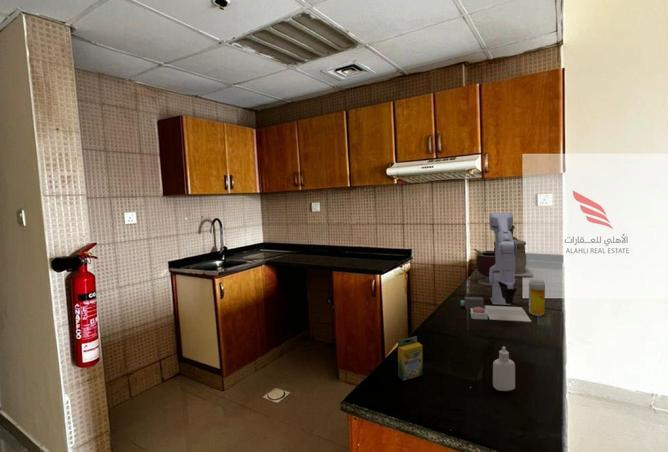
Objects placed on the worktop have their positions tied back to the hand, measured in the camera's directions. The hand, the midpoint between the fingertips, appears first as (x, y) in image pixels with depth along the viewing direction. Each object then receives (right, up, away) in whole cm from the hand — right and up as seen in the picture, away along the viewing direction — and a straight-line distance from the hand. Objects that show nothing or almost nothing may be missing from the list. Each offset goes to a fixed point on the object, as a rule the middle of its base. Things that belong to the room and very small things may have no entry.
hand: (507, 300), depth 149 cm
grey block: (-7, -7, +17) cm, 20 cm away
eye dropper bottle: (-25, -14, -49) cm, 57 cm away
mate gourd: (+18, -2, +61) cm, 64 cm away
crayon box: (-50, -15, -41) cm, 66 cm away
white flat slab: (+4, -7, +9) cm, 12 cm away
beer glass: (+16, -7, +6) cm, 19 cm away
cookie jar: (+42, +1, +81) cm, 91 cm away
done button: (-9, -7, +6) cm, 13 cm away
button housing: (-9, -8, +6) cm, 14 cm away
